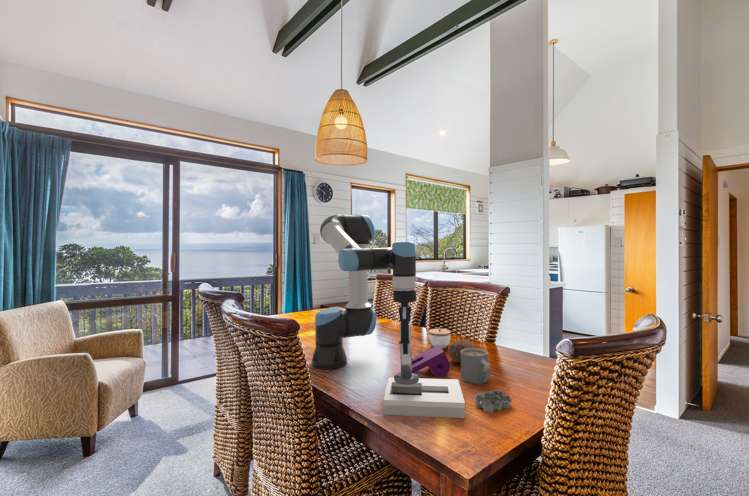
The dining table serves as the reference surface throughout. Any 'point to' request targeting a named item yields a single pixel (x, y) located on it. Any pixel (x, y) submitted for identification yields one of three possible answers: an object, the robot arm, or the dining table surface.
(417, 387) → the keyhole plate
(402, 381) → the headed peg
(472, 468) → the dining table surface
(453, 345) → the decorative rock
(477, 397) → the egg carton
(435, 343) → the lidded jar
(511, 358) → the dining table surface
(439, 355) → the mounting bracket
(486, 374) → the coffee mug
